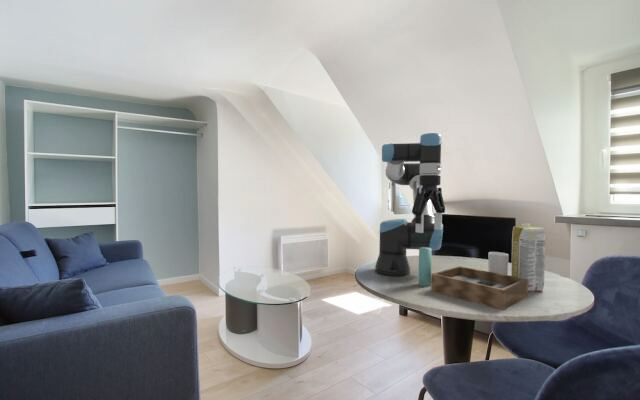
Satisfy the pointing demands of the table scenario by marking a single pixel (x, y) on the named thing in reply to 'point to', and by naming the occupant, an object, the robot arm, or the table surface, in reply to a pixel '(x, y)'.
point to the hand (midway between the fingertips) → (429, 231)
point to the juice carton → (529, 255)
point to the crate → (480, 286)
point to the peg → (425, 266)
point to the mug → (498, 263)
